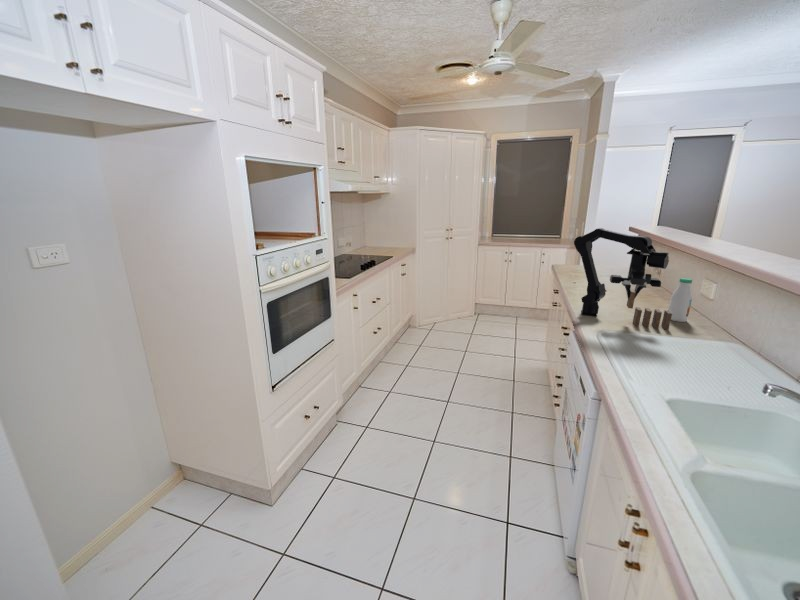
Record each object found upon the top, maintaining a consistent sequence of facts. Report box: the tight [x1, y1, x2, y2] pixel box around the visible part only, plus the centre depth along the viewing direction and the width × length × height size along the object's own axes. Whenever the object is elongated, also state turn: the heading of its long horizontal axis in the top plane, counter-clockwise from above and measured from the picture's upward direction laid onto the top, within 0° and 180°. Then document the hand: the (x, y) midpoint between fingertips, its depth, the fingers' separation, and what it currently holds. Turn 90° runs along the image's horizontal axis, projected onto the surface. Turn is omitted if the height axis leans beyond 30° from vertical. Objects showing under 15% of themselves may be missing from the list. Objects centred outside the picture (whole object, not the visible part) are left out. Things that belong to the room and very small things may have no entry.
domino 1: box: [626, 289, 636, 309], centre depth 159 cm, size 2×5×8 cm, turn 157°
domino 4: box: [651, 308, 663, 329], centre depth 158 cm, size 2×5×8 cm, turn 157°
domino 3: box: [641, 307, 653, 328], centre depth 159 cm, size 2×5×8 cm, turn 156°
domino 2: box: [632, 306, 643, 327], centre depth 161 cm, size 2×5×8 cm, turn 157°
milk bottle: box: [668, 277, 693, 323], centre depth 166 cm, size 8×8×20 cm
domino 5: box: [660, 309, 672, 331], centre depth 156 cm, size 2×5×8 cm, turn 157°
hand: (630, 299), depth 160 cm, fingers closed on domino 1, 2 cm apart
